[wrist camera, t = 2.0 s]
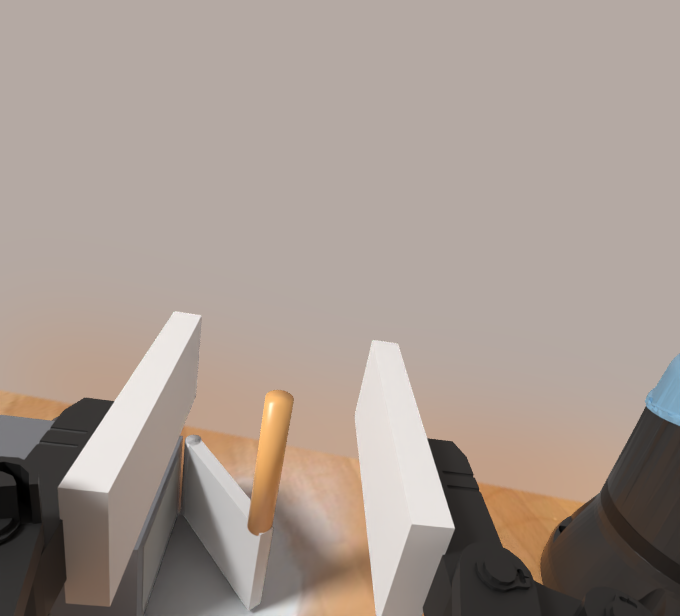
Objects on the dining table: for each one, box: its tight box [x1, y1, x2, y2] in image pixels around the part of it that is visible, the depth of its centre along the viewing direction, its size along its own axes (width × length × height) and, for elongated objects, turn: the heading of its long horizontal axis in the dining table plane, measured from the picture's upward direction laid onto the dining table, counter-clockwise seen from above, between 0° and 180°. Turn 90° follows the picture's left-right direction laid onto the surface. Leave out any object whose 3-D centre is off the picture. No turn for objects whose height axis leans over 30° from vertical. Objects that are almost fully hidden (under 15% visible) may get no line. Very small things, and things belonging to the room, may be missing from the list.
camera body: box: [0, 415, 183, 616], centre depth 34 cm, size 14×12×9 cm
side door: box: [180, 390, 294, 611], centre depth 34 cm, size 2×11×17 cm, turn 42°
